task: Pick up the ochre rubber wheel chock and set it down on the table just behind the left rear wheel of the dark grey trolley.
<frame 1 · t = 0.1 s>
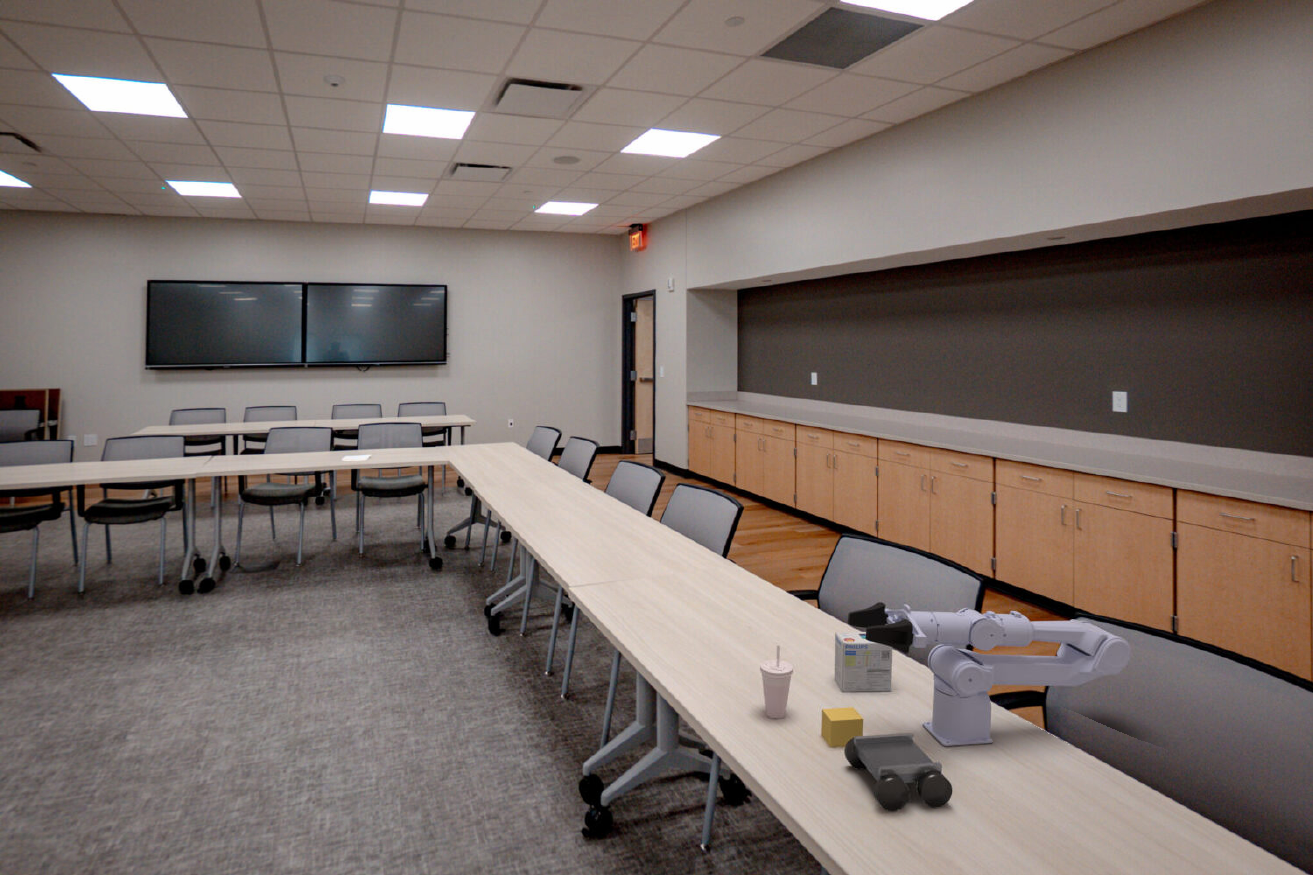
hand: (857, 626, 129), 22 cm above the table, tool horizontal, fingers open, 7 cm apart
wheel chock: (841, 740, 132), on the table
trolley: (895, 767, 117), point 3 cm above the table, slide at 0.0 cm
smoothie: (775, 714, 142), on the table
light bulb box: (861, 686, 154), on the table
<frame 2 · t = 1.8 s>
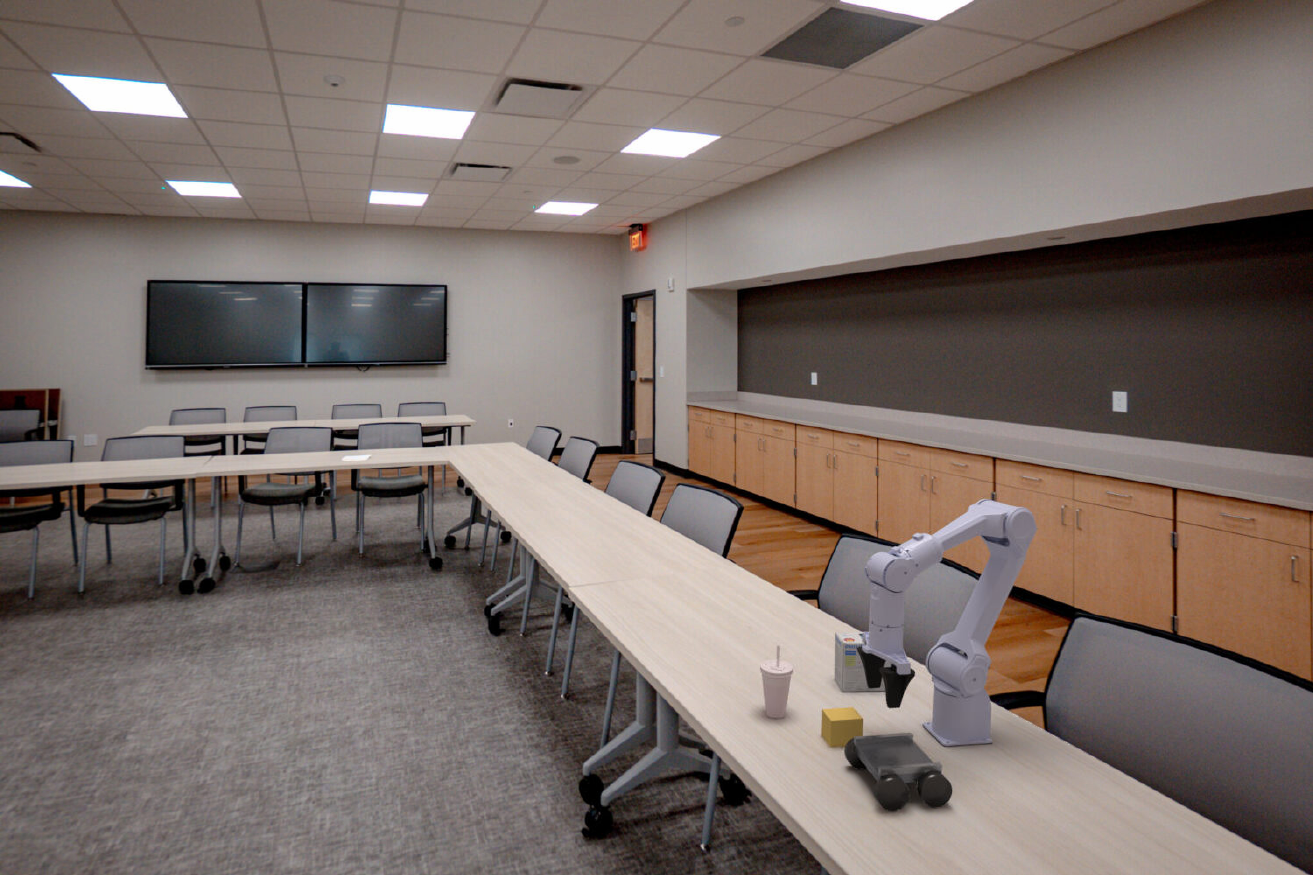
hand: (883, 696, 128), 9 cm above the table, tool pointing down, fingers open, 7 cm apart
nothing on the table moved.
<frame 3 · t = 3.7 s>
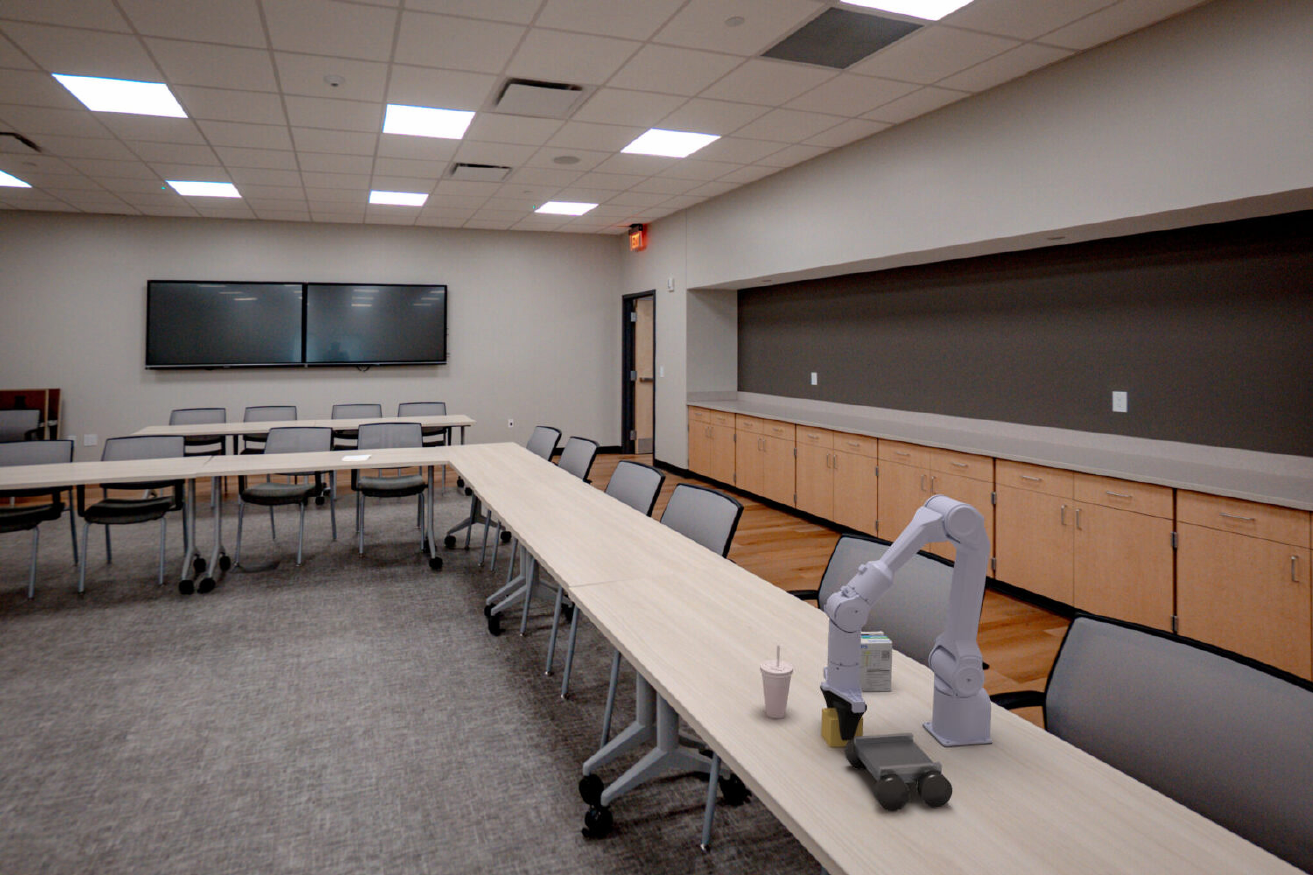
hand: (841, 732, 132), 1 cm above the table, tool pointing down, fingers closed on wheel chock, 4 cm apart
wheel chock: (841, 739, 132), on the table, touching gripper
everything else where it was.
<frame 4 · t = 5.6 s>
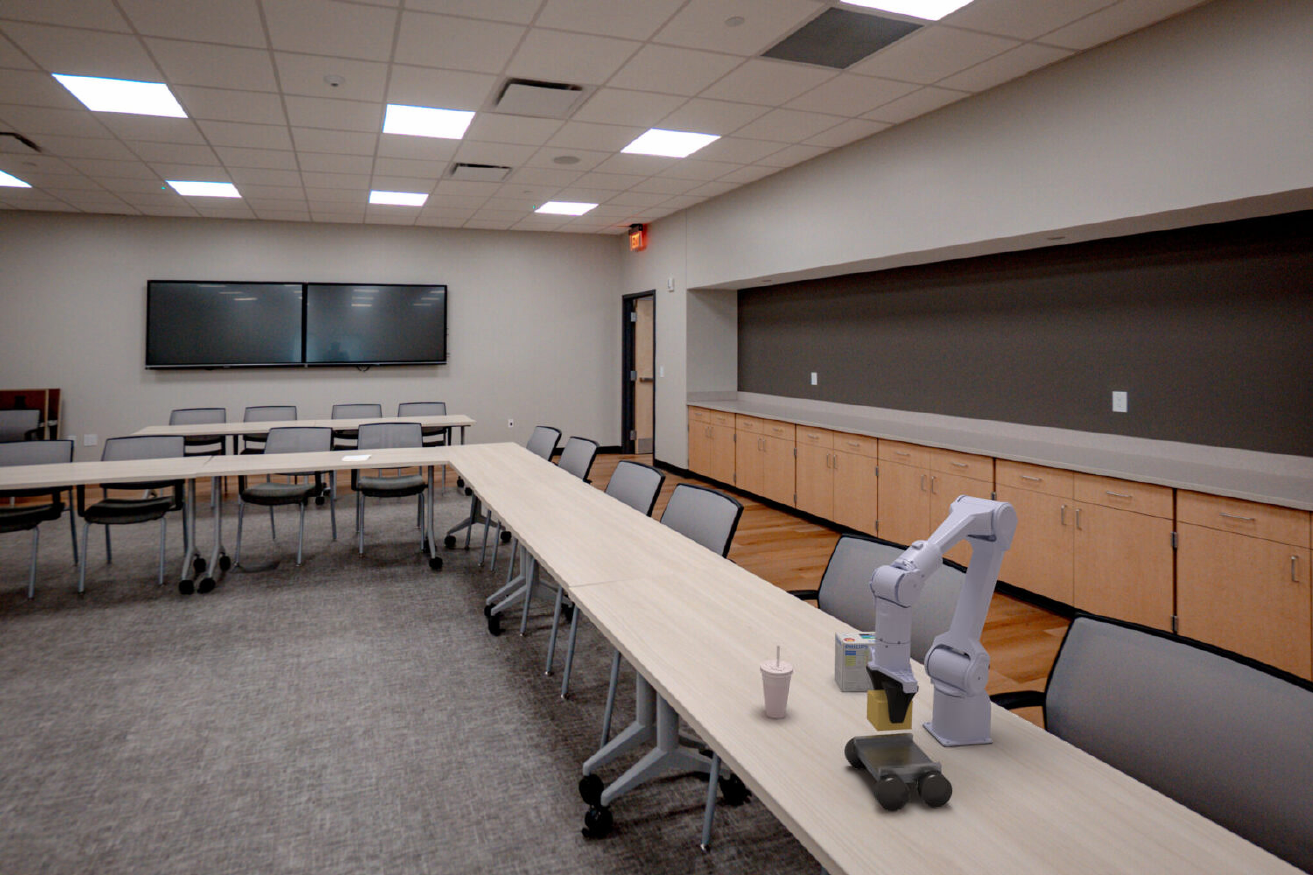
hand: (890, 714, 124), 8 cm above the table, tool pointing down, fingers closed on wheel chock, 4 cm apart
wheel chock: (888, 723, 124), point 7 cm above the table, touching gripper
everything else where it was.
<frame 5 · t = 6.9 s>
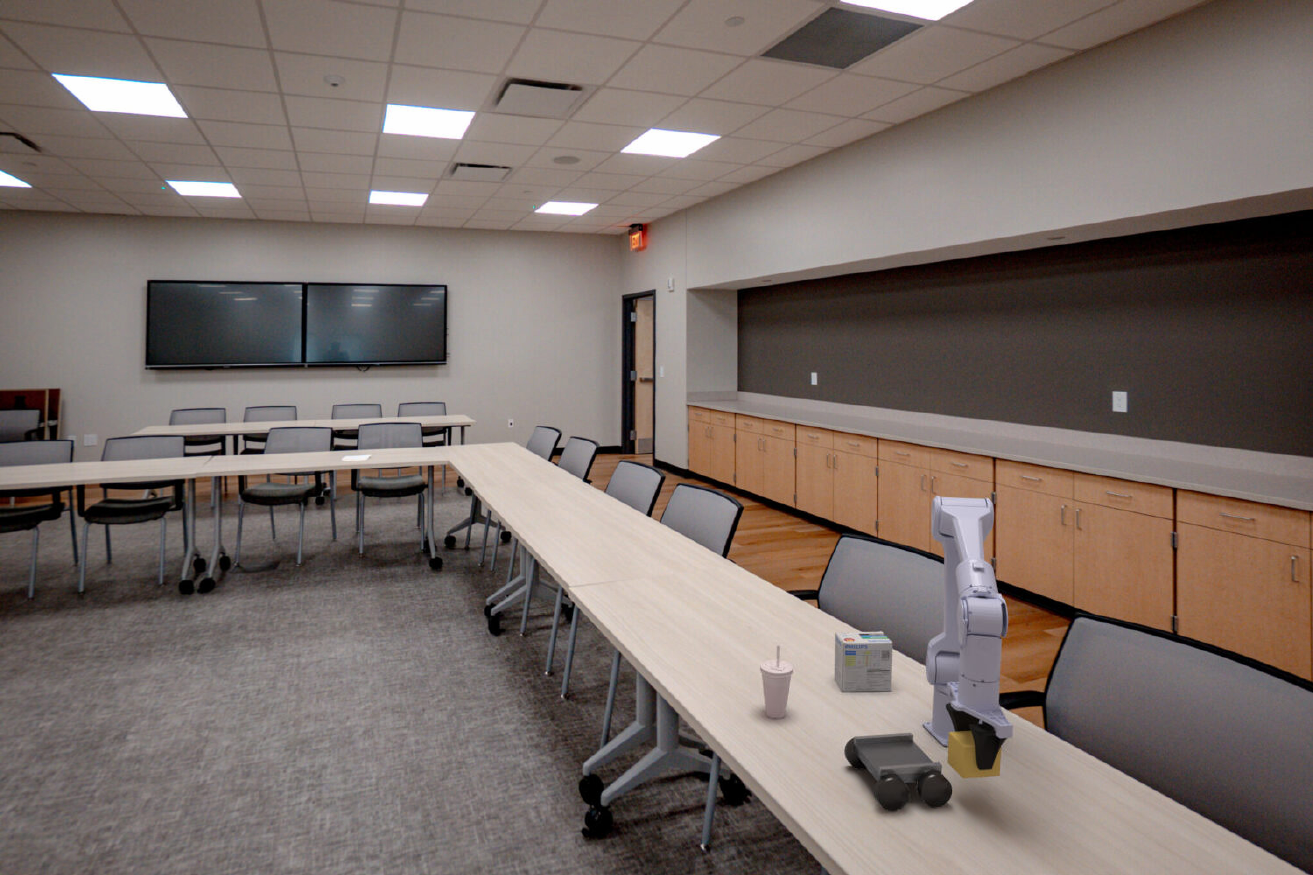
hand: (975, 759, 113), 7 cm above the table, tool pointing down, fingers closed on wheel chock, 4 cm apart
wheel chock: (973, 768, 113), point 5 cm above the table, touching gripper
everything else where it was.
when the fingers open (3 cm above the table, at t = 8.0 s): wheel chock drops 1 cm, on the table.
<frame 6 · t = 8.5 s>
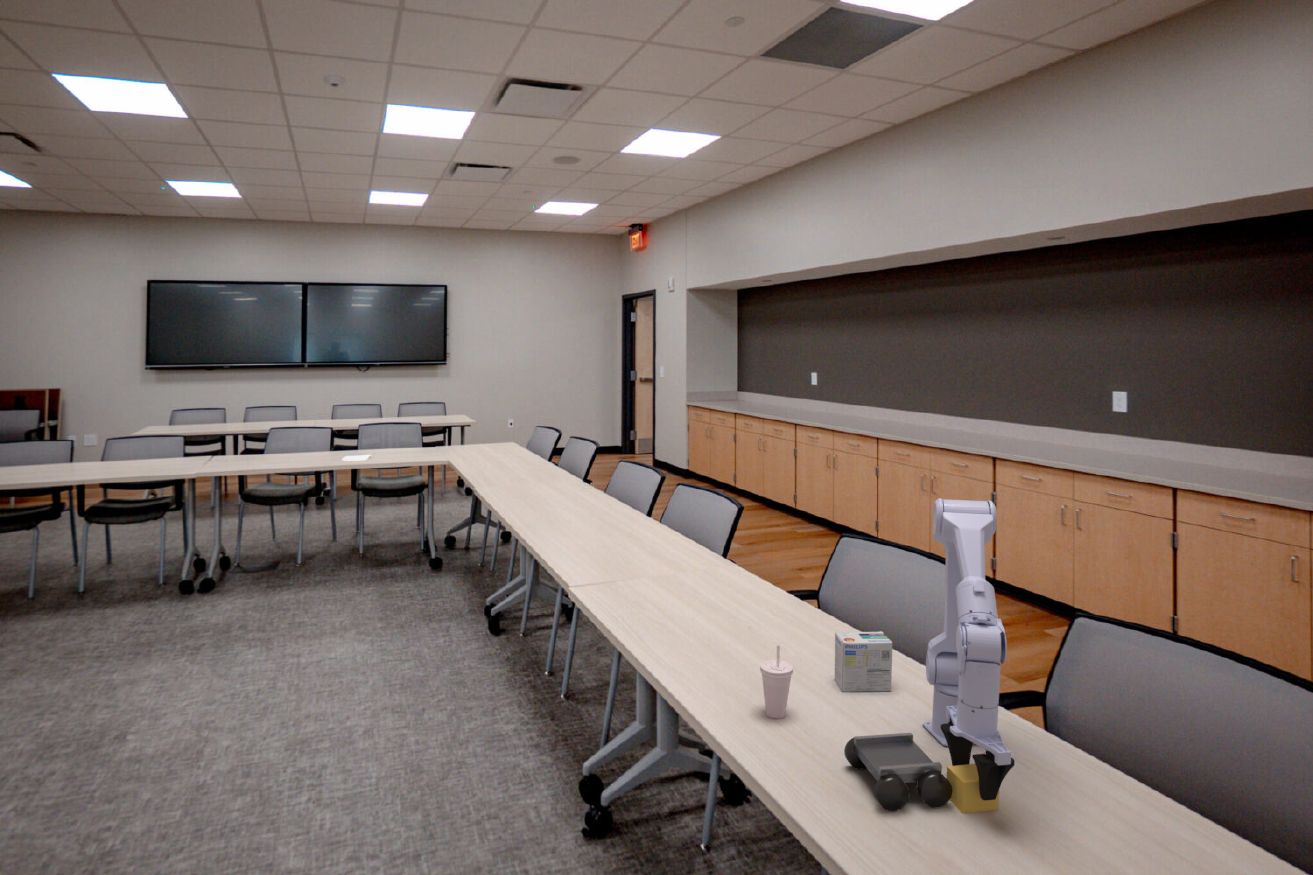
hand: (973, 784, 113), 3 cm above the table, tool pointing down, fingers open, 7 cm apart
wheel chock: (971, 802, 113), on the table
everything else where it was.
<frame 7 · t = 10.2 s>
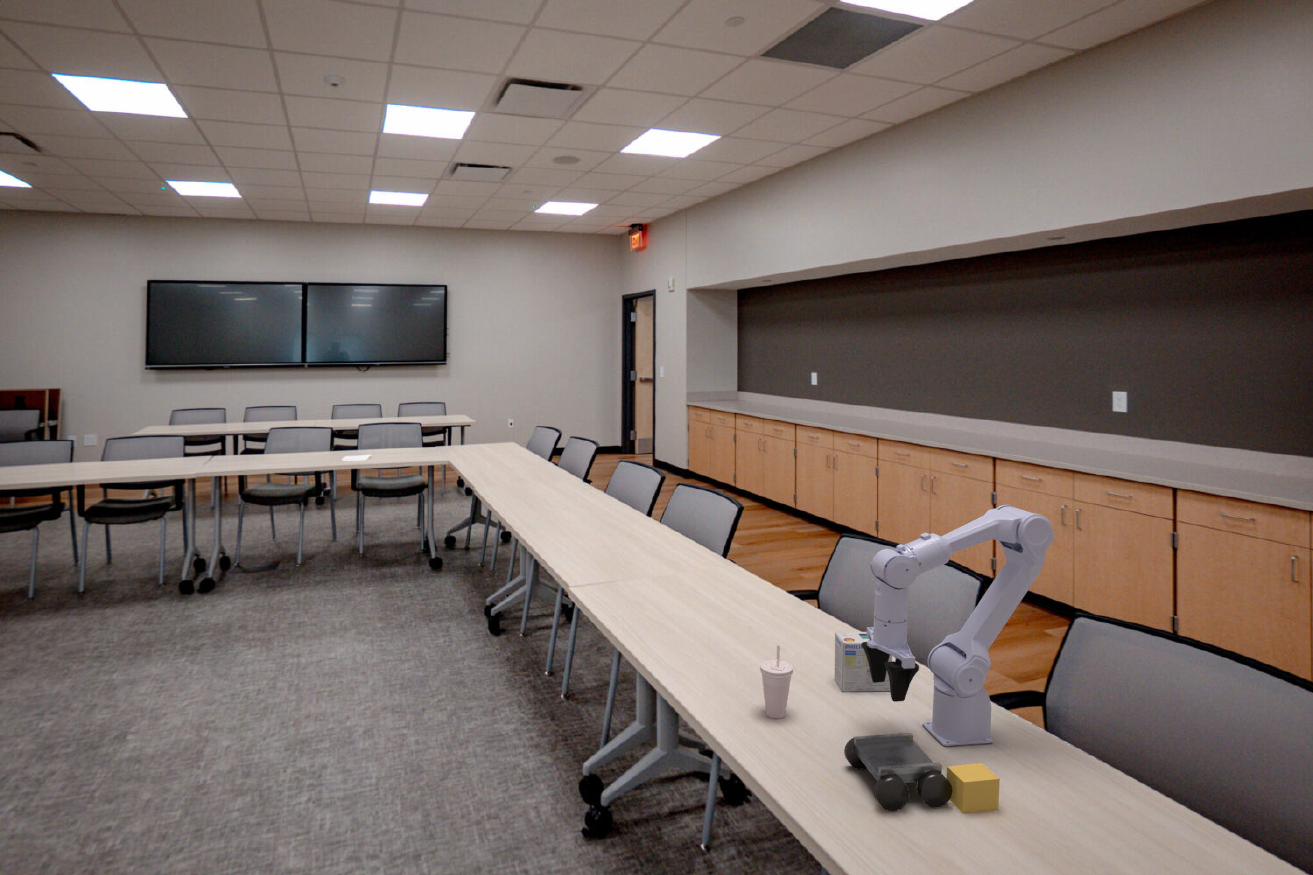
hand: (887, 690, 131), 9 cm above the table, tool pointing down, fingers open, 7 cm apart
nothing on the table moved.
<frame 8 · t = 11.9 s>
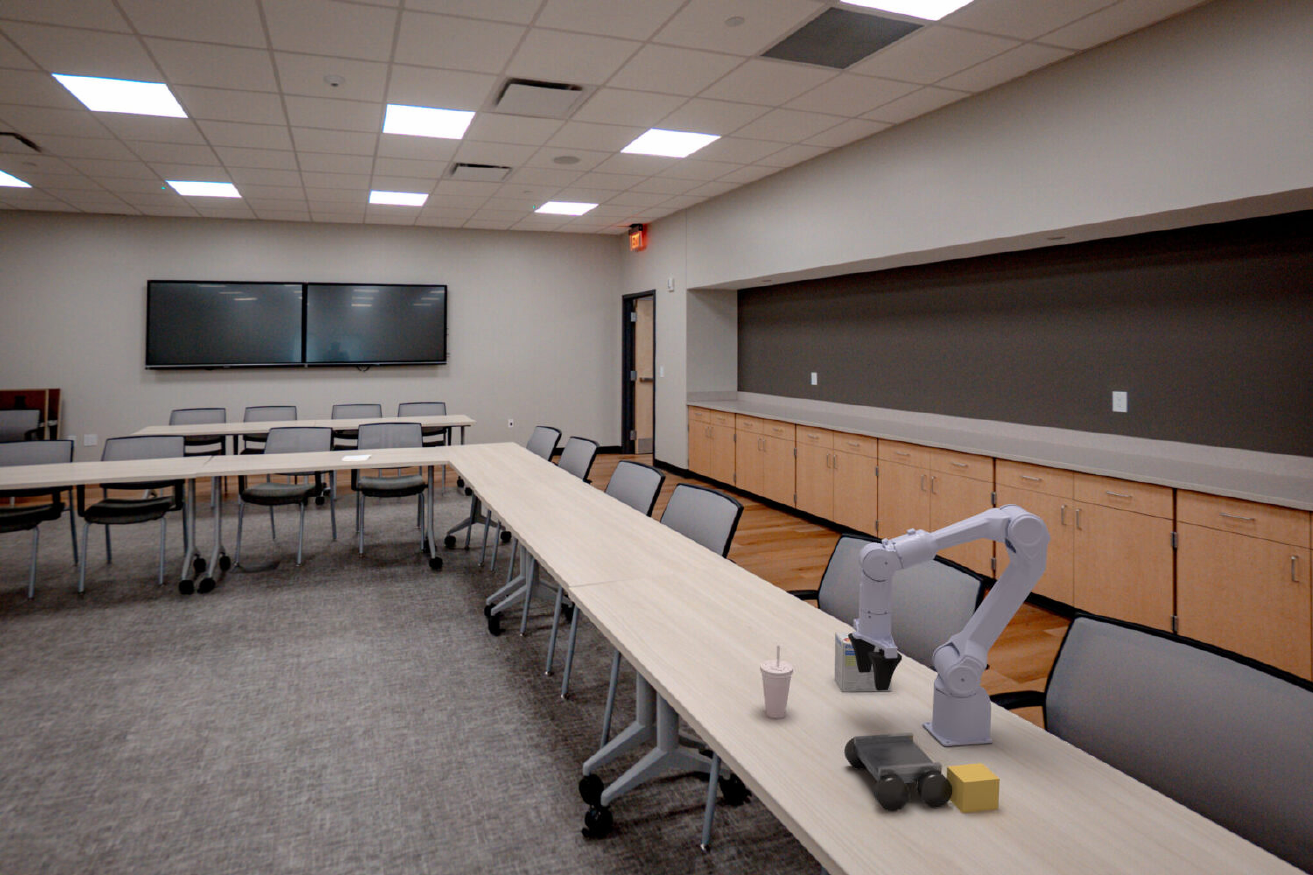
hand: (872, 680, 135), 9 cm above the table, tool pointing down, fingers open, 7 cm apart
nothing on the table moved.
at the end: wheel chock 0.8 cm from the target spot on the table beside the trolley, on the table; wheel chock tilted 0°; the gripper is holding nothing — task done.
